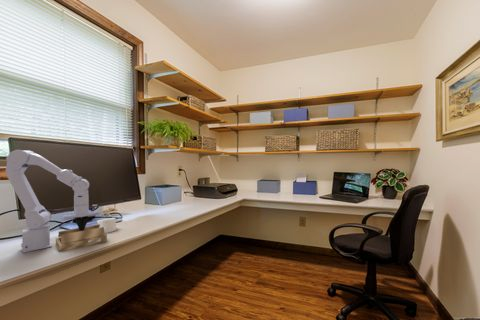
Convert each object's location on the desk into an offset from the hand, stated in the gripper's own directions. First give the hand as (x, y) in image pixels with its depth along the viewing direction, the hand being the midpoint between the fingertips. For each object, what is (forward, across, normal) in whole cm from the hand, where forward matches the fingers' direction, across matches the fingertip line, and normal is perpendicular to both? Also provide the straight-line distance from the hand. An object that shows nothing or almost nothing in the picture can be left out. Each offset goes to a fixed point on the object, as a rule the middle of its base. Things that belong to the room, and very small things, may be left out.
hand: (81, 232), depth 108 cm
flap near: (+2, 0, -6) cm, 6 cm away
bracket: (+6, +8, +11) cm, 15 cm away
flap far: (+2, 0, +6) cm, 6 cm away
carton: (+5, 0, 0) cm, 5 cm away
